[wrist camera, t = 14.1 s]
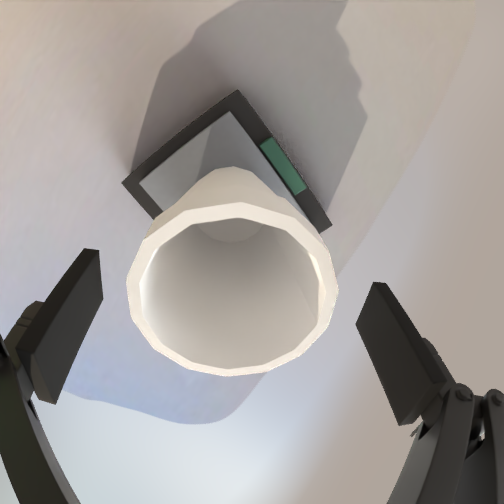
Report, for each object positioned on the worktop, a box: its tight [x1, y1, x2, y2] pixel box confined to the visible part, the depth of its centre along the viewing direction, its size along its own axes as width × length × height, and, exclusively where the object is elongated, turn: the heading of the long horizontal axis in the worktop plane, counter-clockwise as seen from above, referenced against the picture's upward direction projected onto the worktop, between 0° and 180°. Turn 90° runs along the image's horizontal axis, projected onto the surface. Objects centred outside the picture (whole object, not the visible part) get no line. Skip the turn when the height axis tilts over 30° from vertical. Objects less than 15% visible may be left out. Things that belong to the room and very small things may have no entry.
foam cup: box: [126, 166, 339, 377], centre depth 20 cm, size 10×9×13 cm
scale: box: [122, 90, 332, 234], centre depth 27 cm, size 14×12×3 cm
